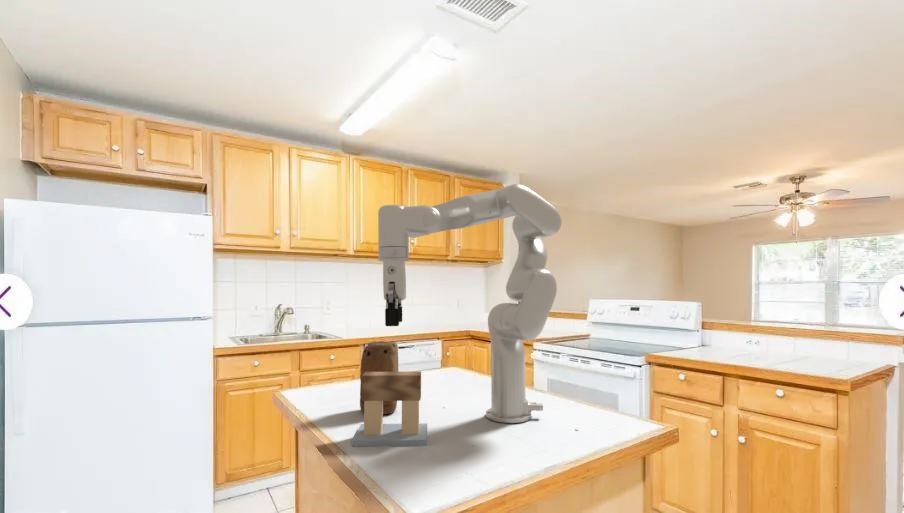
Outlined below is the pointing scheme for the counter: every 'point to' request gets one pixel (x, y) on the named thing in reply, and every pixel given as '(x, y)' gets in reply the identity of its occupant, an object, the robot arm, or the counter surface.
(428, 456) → the counter surface
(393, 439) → the base
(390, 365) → the brown rounded tall lump
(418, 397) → the beam
